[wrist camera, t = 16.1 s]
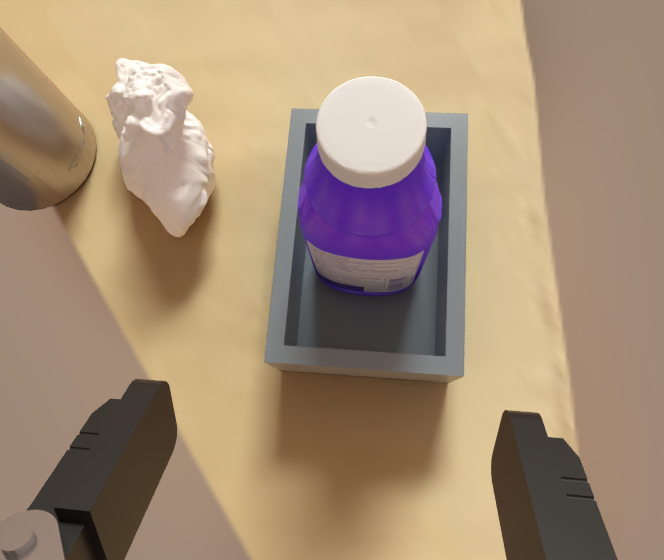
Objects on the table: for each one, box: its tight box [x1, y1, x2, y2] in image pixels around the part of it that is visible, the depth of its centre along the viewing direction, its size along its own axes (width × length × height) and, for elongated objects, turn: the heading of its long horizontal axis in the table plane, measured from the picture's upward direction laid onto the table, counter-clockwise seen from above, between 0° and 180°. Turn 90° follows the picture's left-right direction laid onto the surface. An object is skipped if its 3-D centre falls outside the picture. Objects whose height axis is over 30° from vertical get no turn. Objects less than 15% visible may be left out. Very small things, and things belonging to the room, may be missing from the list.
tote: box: [264, 109, 468, 383], centre depth 34 cm, size 11×16×6 cm
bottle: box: [298, 76, 442, 296], centre depth 27 cm, size 7×6×17 cm
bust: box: [106, 58, 215, 237], centre depth 35 cm, size 12×8×11 cm
